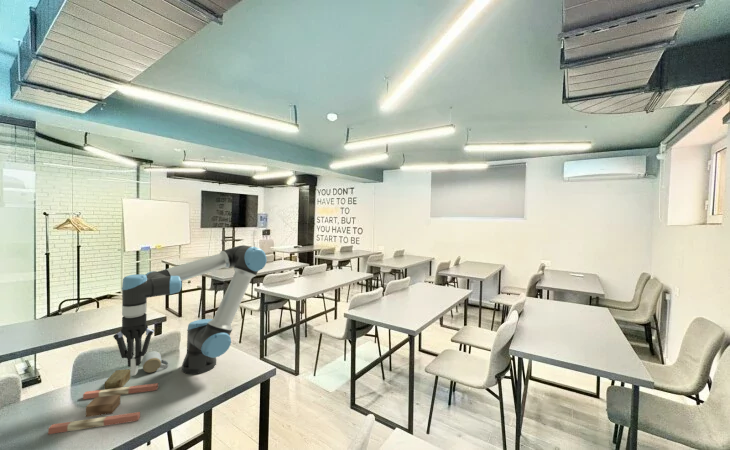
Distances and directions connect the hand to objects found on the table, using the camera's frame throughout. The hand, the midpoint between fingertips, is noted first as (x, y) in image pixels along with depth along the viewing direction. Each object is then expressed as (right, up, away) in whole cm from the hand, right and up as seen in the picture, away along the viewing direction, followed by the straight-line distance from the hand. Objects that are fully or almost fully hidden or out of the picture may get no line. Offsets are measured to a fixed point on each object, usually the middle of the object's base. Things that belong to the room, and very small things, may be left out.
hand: (134, 373), depth 114 cm
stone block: (-17, -12, +12) cm, 24 cm away
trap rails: (-7, -12, -3) cm, 14 cm away
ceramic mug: (-12, -12, +27) cm, 32 cm away
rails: (-10, -12, -3) cm, 16 cm away
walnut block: (-8, -12, -4) cm, 15 cm away
